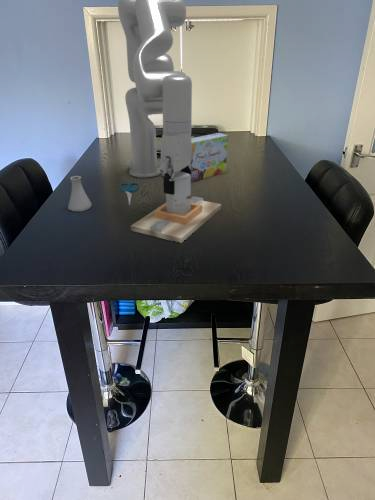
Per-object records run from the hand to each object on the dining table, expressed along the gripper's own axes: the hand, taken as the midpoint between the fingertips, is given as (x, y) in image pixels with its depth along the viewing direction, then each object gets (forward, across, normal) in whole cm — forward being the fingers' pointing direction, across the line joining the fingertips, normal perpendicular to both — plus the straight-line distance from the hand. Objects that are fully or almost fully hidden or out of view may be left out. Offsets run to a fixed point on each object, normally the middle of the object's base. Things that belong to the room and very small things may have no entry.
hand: (177, 188), depth 108 cm
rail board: (+10, 0, 0) cm, 10 cm away
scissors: (+11, -10, -24) cm, 28 cm away
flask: (+10, +8, -32) cm, 34 cm away
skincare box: (+8, 0, 0) cm, 8 cm away
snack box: (+11, -38, -10) cm, 41 cm away
